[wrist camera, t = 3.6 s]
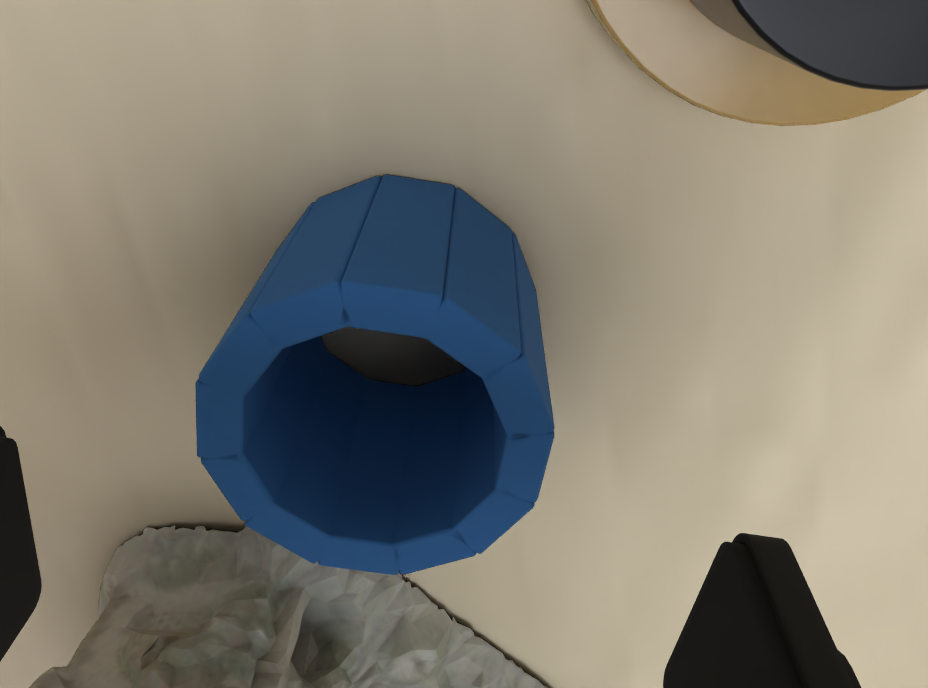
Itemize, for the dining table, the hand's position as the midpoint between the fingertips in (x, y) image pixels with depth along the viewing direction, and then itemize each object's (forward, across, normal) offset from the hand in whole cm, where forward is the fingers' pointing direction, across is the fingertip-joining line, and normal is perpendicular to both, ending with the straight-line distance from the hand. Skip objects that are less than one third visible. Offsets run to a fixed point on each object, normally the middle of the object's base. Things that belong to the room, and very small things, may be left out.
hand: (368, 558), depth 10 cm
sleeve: (+8, 0, 0) cm, 8 cm away
